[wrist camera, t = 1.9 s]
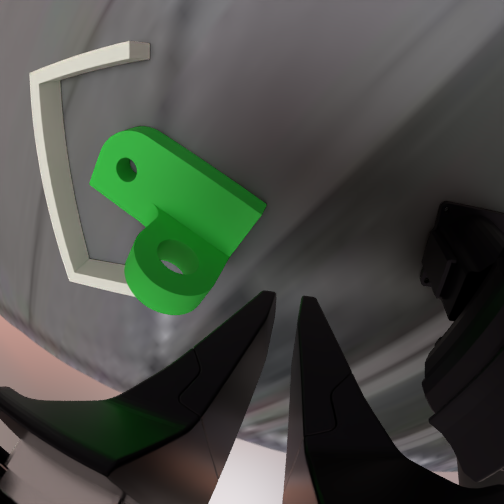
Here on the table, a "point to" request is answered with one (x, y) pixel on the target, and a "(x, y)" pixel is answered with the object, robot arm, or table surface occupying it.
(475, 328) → the robot arm
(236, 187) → the mechanical part
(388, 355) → the table surface
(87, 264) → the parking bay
